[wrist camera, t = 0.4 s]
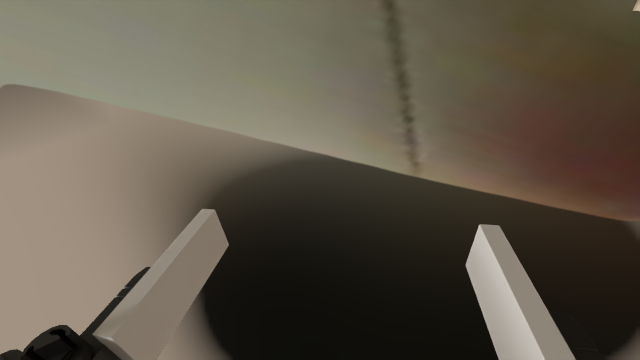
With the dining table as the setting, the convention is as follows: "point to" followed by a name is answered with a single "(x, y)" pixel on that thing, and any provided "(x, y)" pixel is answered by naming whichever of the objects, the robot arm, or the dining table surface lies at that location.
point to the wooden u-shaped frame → (637, 6)
